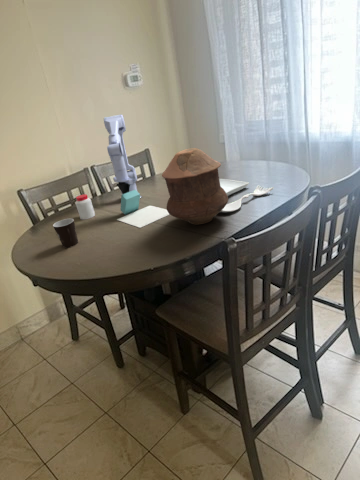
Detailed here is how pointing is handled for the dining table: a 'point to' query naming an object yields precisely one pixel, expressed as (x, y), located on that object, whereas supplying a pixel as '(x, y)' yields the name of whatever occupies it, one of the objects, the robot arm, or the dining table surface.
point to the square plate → (232, 185)
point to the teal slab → (130, 202)
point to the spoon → (237, 204)
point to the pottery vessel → (194, 187)
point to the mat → (144, 216)
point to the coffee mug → (66, 232)
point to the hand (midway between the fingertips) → (126, 196)
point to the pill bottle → (84, 207)
